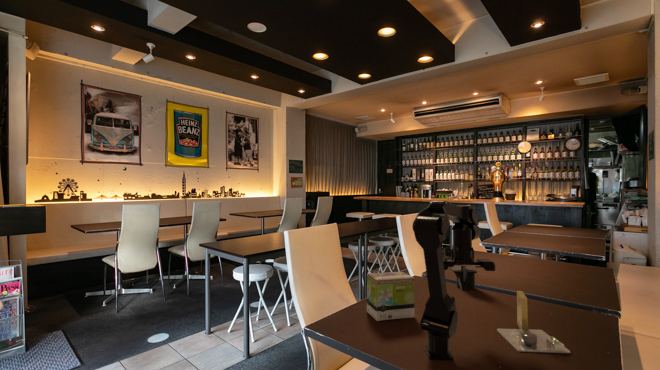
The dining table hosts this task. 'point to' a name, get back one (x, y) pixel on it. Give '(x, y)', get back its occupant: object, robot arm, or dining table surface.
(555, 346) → the plate
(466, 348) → the dining table surface
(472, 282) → the wine bottle
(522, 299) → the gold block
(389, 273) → the tea box
